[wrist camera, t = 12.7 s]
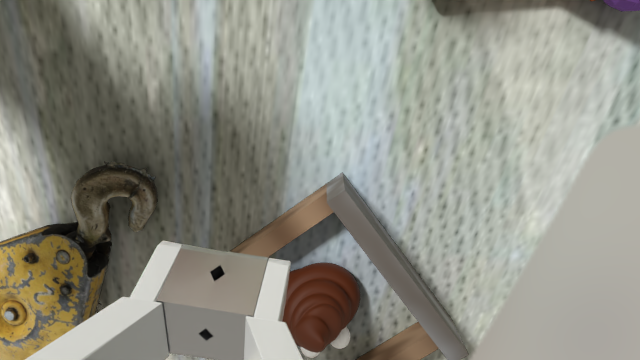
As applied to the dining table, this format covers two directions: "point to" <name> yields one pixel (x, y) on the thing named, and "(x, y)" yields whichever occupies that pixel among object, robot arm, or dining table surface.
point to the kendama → (623, 4)
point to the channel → (341, 198)
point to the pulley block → (65, 261)
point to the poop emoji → (320, 306)
